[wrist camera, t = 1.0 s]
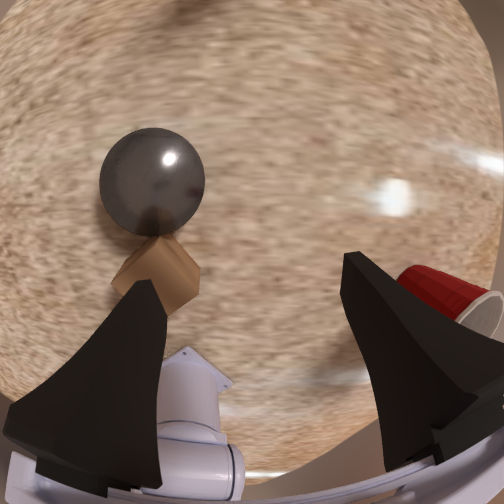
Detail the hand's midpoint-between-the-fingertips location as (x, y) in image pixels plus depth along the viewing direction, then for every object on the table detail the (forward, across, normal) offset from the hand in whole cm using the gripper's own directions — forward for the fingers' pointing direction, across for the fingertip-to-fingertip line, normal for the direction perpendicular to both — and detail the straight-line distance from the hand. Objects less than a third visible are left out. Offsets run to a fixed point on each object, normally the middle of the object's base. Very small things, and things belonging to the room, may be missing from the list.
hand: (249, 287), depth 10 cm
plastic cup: (+14, -19, +16) cm, 28 cm away
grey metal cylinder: (+15, +7, 0) cm, 16 cm away
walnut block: (+13, +8, +8) cm, 17 cm away
